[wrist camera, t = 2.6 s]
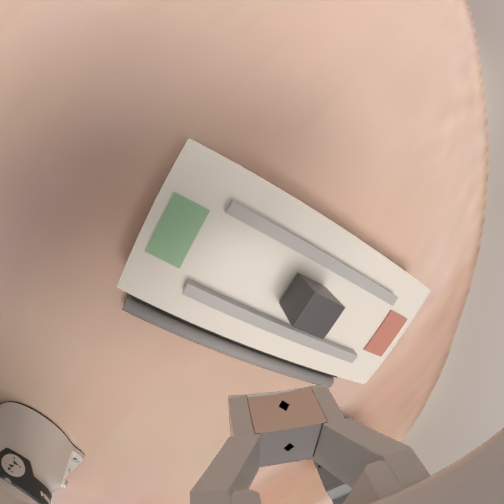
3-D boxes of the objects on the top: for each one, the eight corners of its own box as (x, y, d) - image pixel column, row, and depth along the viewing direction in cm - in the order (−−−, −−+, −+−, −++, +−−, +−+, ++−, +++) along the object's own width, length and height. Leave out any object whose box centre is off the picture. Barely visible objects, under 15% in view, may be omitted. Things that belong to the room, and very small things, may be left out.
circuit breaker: (346, 409, 38) (390, 483, 23) (358, 447, 42) (390, 507, 28) (300, 430, 37) (332, 510, 23) (320, 465, 42) (347, 527, 28)
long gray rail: (323, 382, 35) (327, 389, 33) (124, 305, 28) (121, 312, 26) (338, 362, 34) (343, 370, 33) (136, 277, 27) (132, 283, 26)
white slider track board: (347, 360, 34) (368, 389, 29) (129, 267, 27) (113, 292, 21) (405, 274, 32) (436, 293, 27) (191, 143, 25) (188, 136, 19)
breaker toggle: (306, 315, 25) (323, 339, 21) (278, 302, 24) (292, 326, 21) (325, 286, 25) (345, 307, 21) (297, 272, 24) (314, 292, 20)
